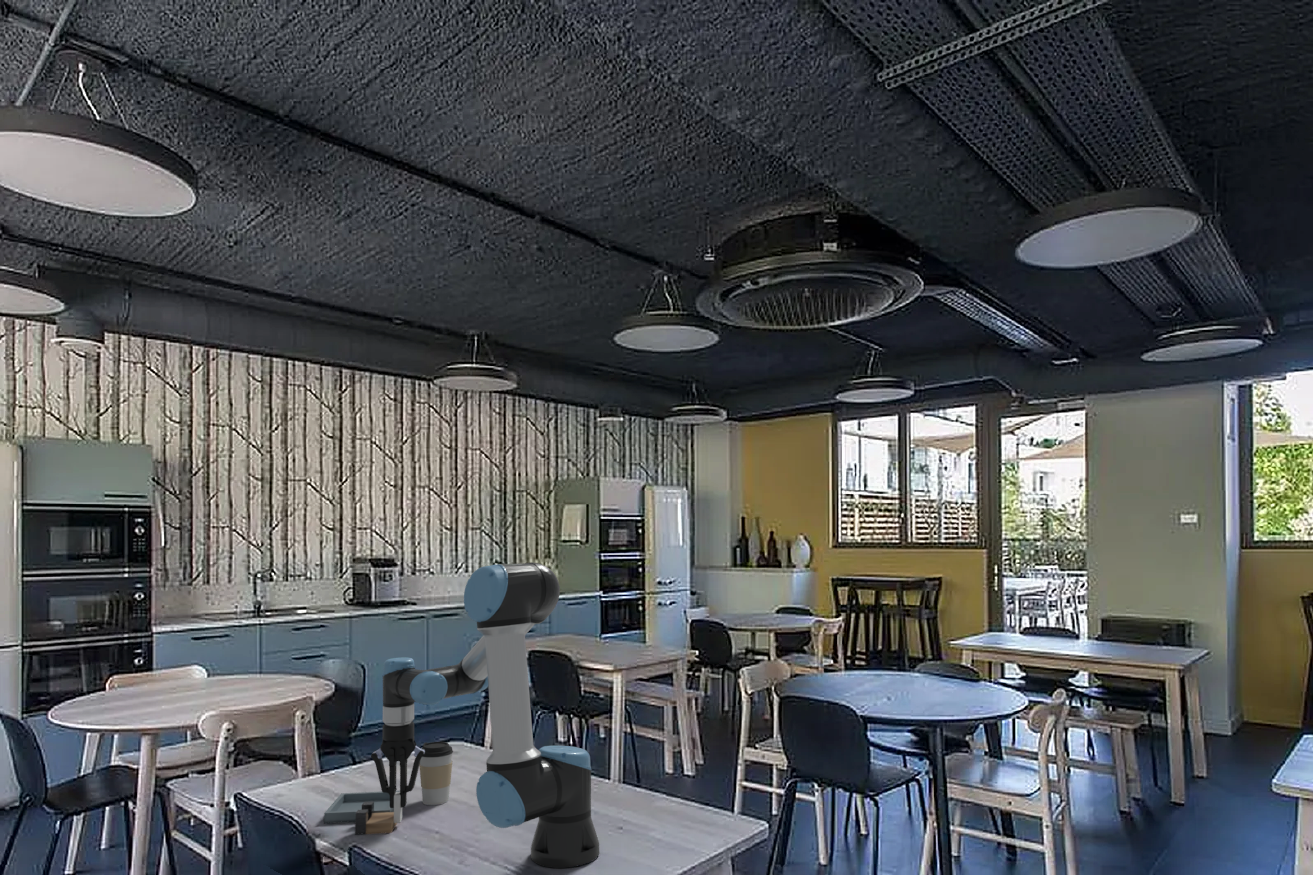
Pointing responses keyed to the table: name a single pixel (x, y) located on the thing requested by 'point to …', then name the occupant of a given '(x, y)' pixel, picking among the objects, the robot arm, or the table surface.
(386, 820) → the wooden block
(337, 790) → the table surface
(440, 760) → the coffee cup
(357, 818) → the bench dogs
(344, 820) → the tray
